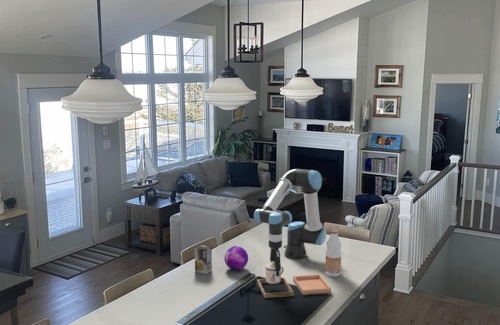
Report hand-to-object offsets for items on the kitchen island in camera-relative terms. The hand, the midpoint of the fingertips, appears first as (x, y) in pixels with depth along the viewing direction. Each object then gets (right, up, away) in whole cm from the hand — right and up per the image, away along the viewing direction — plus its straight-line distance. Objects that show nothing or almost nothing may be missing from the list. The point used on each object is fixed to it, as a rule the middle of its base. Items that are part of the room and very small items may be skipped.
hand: (275, 277), depth 288 cm
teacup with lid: (0, -2, +1) cm, 2 cm away
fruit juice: (+37, -4, +24) cm, 44 cm away
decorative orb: (-23, -2, +31) cm, 38 cm away
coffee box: (-44, -3, +27) cm, 51 cm away
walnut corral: (0, -7, +1) cm, 7 cm away
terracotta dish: (+21, -6, +5) cm, 23 cm away
